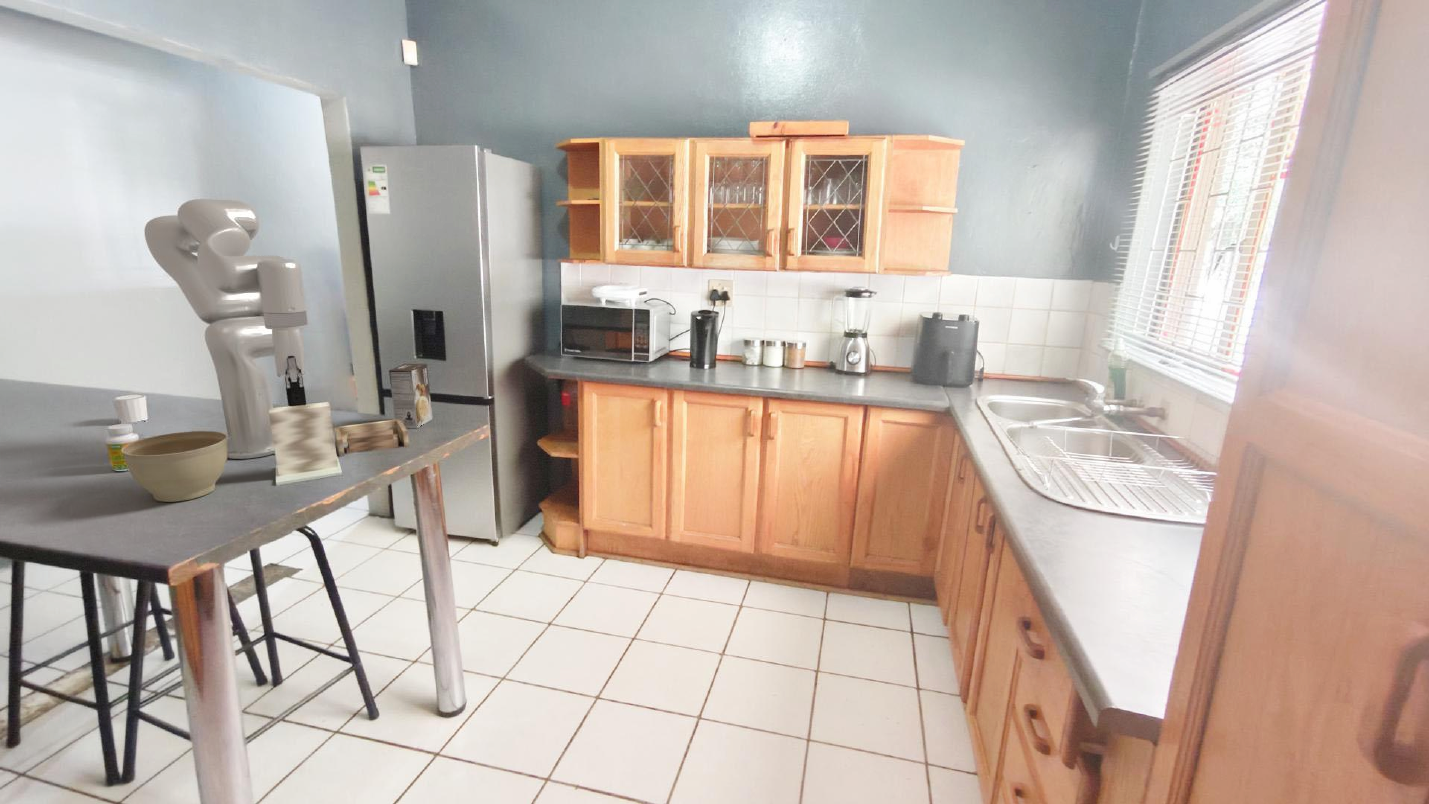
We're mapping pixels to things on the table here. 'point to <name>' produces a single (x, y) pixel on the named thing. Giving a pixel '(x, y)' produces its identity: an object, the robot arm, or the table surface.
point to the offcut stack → (371, 441)
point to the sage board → (308, 475)
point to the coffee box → (411, 394)
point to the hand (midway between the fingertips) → (296, 399)
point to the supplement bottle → (119, 444)
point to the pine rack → (393, 425)
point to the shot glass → (131, 407)
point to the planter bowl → (178, 463)
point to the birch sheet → (303, 438)
